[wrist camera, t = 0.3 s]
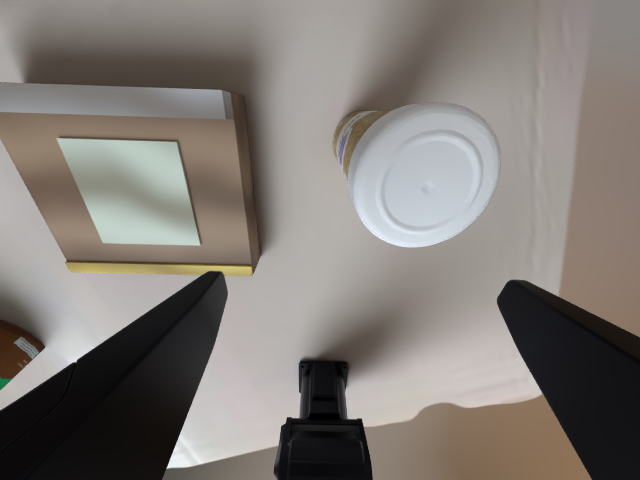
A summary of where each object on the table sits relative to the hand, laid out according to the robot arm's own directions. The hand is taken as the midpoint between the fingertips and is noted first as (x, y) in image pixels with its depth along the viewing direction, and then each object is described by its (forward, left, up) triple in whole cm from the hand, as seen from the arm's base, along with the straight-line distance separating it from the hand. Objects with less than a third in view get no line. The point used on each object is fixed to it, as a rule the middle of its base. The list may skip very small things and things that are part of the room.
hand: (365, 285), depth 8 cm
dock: (-1, +15, -15) cm, 21 cm away
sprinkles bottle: (+3, -2, -15) cm, 15 cm away
